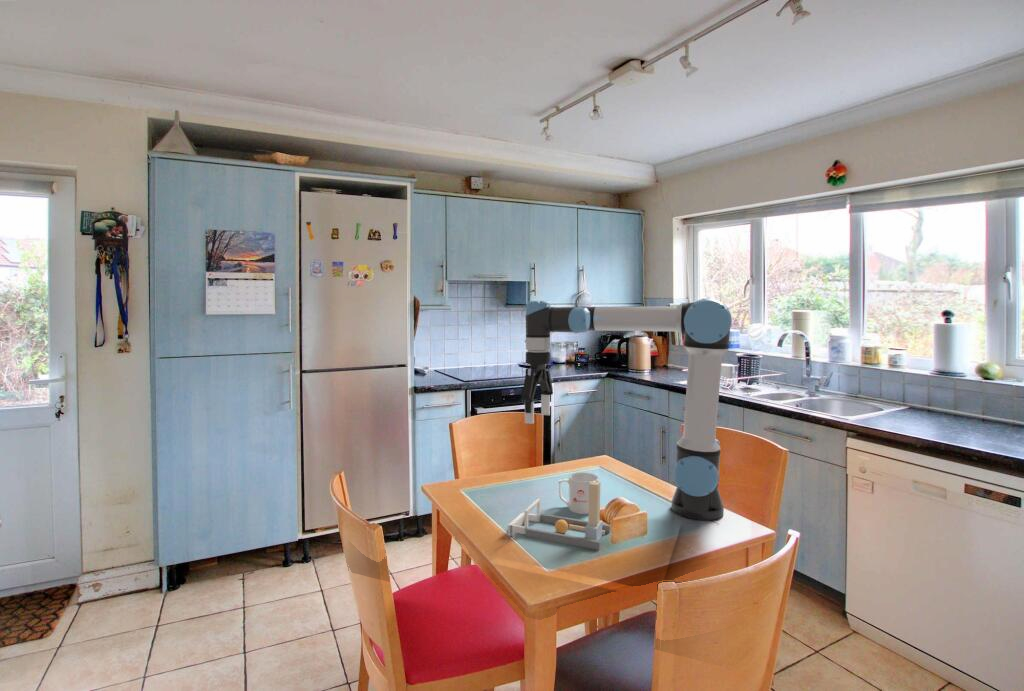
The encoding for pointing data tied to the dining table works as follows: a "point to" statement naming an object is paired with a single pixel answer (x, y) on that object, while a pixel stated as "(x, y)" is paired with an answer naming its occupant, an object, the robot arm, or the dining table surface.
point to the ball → (561, 526)
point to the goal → (524, 519)
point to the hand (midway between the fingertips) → (537, 419)
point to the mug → (578, 491)
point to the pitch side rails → (564, 538)
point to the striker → (594, 513)
